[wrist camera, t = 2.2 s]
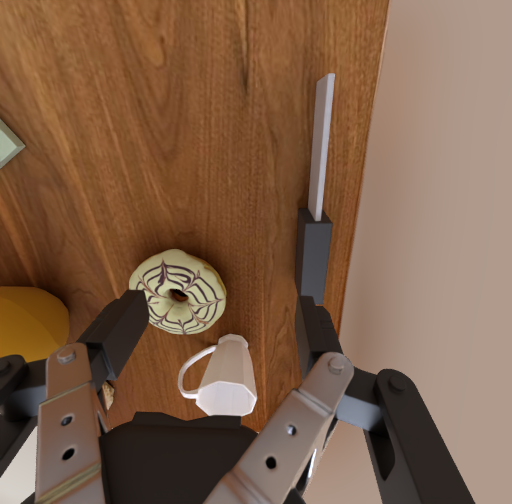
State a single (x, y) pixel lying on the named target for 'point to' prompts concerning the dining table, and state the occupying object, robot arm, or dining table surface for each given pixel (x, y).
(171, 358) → the dining table surface
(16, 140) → the butter board
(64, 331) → the apple
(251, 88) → the dining table surface
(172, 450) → the robot arm
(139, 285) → the decorated donut
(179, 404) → the dining table surface
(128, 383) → the dining table surface
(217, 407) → the cup
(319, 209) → the knife
